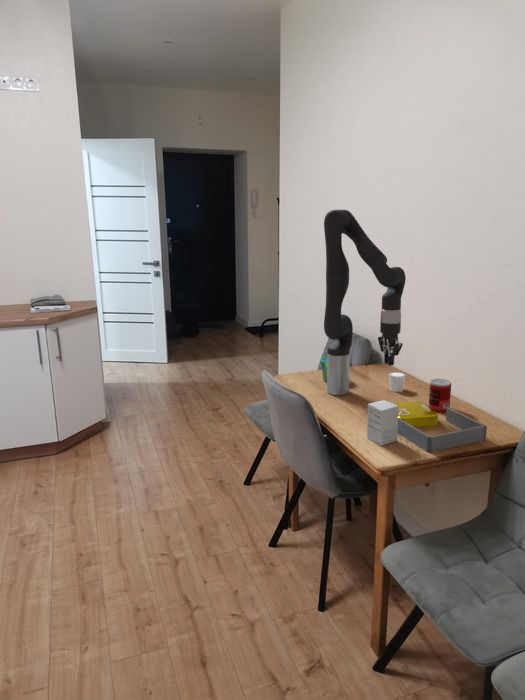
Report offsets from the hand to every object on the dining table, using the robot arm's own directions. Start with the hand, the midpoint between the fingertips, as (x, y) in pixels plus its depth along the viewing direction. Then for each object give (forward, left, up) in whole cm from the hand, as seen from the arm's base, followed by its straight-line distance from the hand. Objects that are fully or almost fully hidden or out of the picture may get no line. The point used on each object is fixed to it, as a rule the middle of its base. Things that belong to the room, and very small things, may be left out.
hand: (389, 364), depth 201 cm
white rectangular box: (+26, -19, -17) cm, 37 cm away
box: (+31, 0, -17) cm, 35 cm away
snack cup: (-37, -5, -17) cm, 41 cm away
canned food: (+11, +16, -17) cm, 26 cm away
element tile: (+15, 0, -18) cm, 23 cm away
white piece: (-14, +14, -17) cm, 26 cm away
